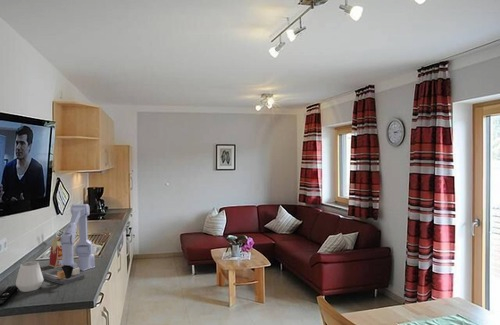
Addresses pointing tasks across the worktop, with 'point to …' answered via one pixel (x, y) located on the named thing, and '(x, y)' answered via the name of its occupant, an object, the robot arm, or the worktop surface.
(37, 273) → the cup
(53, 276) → the mixing panel
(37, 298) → the worktop surface
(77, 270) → the block
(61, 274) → the fader orange
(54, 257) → the milk carton
